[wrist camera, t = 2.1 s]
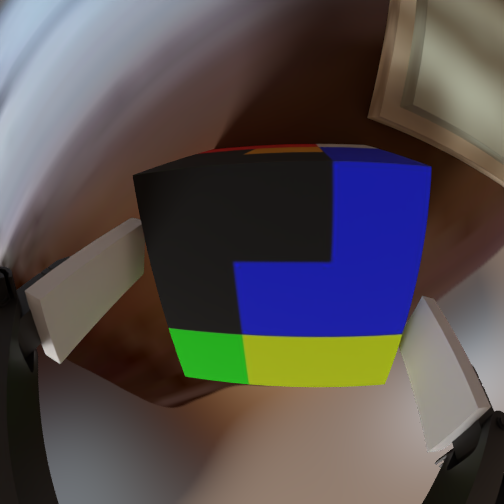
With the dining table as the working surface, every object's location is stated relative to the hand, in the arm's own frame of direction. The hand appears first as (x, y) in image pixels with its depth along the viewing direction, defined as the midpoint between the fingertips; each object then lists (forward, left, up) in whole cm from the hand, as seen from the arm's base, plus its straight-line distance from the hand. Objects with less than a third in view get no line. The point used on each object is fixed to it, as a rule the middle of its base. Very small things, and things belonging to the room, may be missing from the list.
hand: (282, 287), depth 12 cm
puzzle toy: (0, 0, -8) cm, 8 cm away
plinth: (-15, +10, -8) cm, 20 cm away
